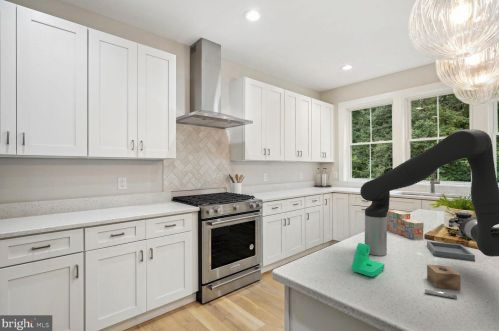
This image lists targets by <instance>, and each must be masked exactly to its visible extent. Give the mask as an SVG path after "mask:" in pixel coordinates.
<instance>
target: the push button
mask: <svg viewBox="0 0 499 331" xmlns="http://www.w3.org/2000/svg"><path fill="white" fill-rule="evenodd" d="M454 214H455V217H457V218H459V219H464V220H465V219H467V218H471V217H472V216H473V215H472V214H470V212H469V211H465V210H458V211H457V212H455V213H454ZM457 235H459V237H462V238H466V237H468V236H467V235H466V234H464V233H463V231H462V230H461V228H458V233H457Z"/></svg>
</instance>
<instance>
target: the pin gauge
mask: <svg viewBox="0 0 499 331" xmlns="http://www.w3.org/2000/svg"><path fill="white" fill-rule="evenodd" d="M424 294H426V295H427V294H428V295H432V296H433V295H434V296H437V297H444V298H449V299H458V297H457V296H458V295H457V294H456V293H455V294H454V293H448V292H444V291H437V290H431V289H424Z"/></svg>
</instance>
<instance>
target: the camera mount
mask: <svg viewBox="0 0 499 331" xmlns="http://www.w3.org/2000/svg"><path fill="white" fill-rule="evenodd" d="M369 252H370V247H369V245H366V244H365V243H362V242H359V243H357V245H356V249H355V252H354V257H353V260H352V264H351V271H352V272H356V273H360V274H361V275H365V276H367V277H378V276H379V275H381V274H382V272H383V270H384V269H385V263H383V262H380V261H377V260H373V259H370V257H369V255H370V254H369Z"/></svg>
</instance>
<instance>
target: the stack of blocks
mask: <svg viewBox="0 0 499 331" xmlns="http://www.w3.org/2000/svg"><path fill="white" fill-rule="evenodd" d="M424 226H425V225H424V222H423V221H420V220H415V219H412V218H411V213H408V212H405V211H401V210H395V209H393V210H392V209H391V210H390V209H389V210H388V212H387V231H389V232H392V233H394V234H397V235H400V236H403V237H405V238H408V239H410V240H415V241H416V240H417V241H418V240H419V241H420V240H424V228H425V227H424Z"/></svg>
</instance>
